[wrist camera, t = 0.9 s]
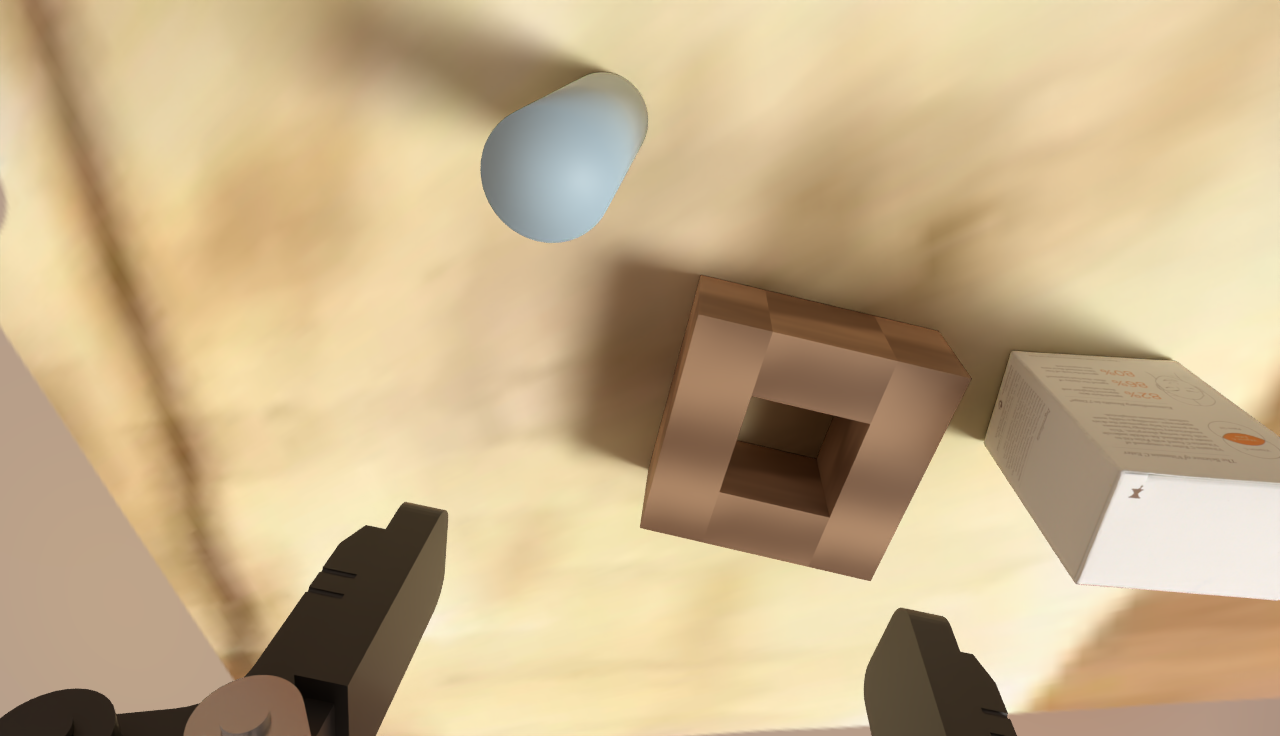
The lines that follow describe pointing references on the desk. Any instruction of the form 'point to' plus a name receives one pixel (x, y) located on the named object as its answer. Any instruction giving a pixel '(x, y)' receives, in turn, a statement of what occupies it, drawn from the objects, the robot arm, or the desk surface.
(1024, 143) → the desk surface
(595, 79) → the peg
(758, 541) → the socket block
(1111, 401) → the small box
